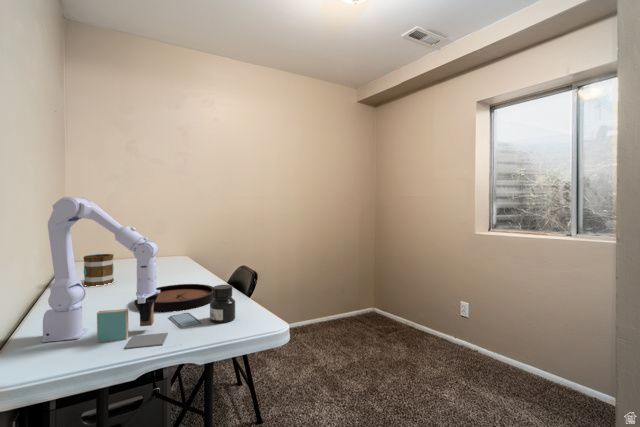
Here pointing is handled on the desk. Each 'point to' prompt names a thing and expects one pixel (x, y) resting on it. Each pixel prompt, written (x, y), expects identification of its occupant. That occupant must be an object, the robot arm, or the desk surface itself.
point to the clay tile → (112, 325)
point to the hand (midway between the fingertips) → (146, 319)
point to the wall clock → (182, 297)
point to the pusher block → (151, 320)
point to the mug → (98, 269)
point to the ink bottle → (222, 304)
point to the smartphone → (185, 320)
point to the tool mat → (146, 340)
